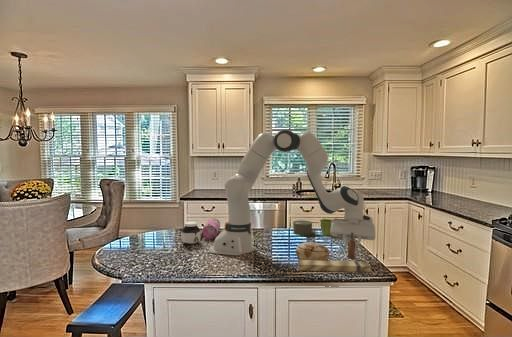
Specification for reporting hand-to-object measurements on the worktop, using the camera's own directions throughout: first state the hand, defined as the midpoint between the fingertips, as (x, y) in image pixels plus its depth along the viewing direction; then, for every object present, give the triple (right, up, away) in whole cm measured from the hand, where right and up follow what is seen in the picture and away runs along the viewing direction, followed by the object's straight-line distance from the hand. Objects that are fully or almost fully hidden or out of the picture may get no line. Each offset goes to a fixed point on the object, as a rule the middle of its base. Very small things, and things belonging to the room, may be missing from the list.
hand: (351, 245), depth 146 cm
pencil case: (-71, -6, +50) cm, 87 cm away
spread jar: (-80, -7, +34) cm, 87 cm away
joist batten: (-10, -8, -7) cm, 15 cm away
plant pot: (+1, -6, +52) cm, 52 cm away
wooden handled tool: (0, -6, +1) cm, 6 cm away
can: (-14, -6, +56) cm, 58 cm away
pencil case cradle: (-70, -6, +51) cm, 87 cm away
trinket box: (-17, -8, +5) cm, 20 cm away
